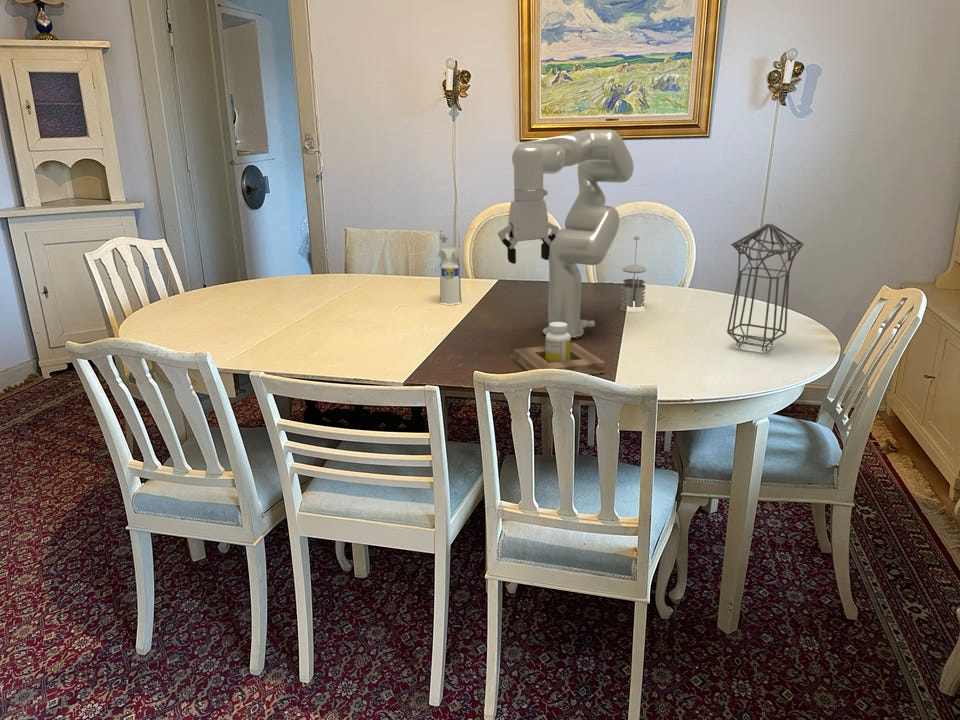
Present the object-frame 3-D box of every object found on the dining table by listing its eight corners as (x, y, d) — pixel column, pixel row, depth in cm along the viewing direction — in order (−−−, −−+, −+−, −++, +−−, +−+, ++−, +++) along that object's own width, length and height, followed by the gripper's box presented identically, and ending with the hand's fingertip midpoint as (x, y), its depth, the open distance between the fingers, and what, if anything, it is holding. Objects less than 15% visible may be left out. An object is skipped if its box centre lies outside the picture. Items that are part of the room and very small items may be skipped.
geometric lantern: (737, 337, 214) (750, 218, 203) (792, 347, 204) (809, 223, 193) (716, 349, 202) (729, 224, 191) (773, 360, 193) (790, 229, 182)
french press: (645, 305, 251) (649, 233, 244) (649, 314, 240) (654, 239, 233) (616, 305, 252) (620, 233, 244) (619, 313, 241) (623, 238, 233)
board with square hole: (574, 353, 200) (574, 342, 199) (604, 373, 184) (604, 362, 183) (513, 360, 195) (513, 349, 194) (539, 381, 179) (539, 370, 178)
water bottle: (462, 305, 253) (461, 234, 245) (438, 305, 253) (436, 234, 245) (463, 300, 261) (462, 230, 253) (440, 300, 261) (438, 231, 253)
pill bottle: (567, 362, 193) (569, 320, 189) (571, 370, 187) (573, 327, 183) (543, 362, 193) (544, 320, 189) (546, 370, 186) (547, 327, 183)
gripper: (551, 192, 193) (551, 255, 199) (492, 196, 187) (493, 261, 193) (565, 195, 186) (564, 260, 192) (504, 200, 180) (504, 267, 186)
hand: (528, 260), depth 193 cm, fingers open, 9 cm apart
